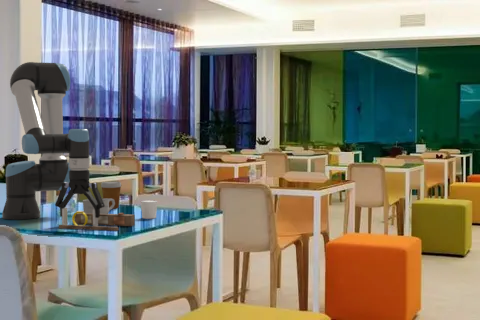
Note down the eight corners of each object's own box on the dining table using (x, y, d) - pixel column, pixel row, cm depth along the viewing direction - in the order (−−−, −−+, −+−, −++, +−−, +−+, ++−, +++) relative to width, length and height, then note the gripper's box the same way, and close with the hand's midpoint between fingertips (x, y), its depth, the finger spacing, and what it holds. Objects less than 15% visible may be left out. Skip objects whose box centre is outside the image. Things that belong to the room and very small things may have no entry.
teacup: (86, 220, 288) (86, 200, 287) (79, 217, 297) (79, 198, 297) (120, 218, 294) (119, 198, 294) (112, 215, 304) (111, 196, 303)
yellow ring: (88, 226, 272) (89, 211, 272) (84, 227, 269) (85, 212, 269) (74, 225, 274) (75, 209, 273) (70, 226, 271) (71, 210, 271)
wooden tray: (58, 228, 266) (58, 216, 266) (78, 222, 281) (78, 211, 280) (117, 230, 260) (117, 218, 259) (134, 225, 274) (134, 213, 274)
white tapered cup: (154, 219, 291) (154, 202, 291) (138, 218, 292) (138, 201, 292) (159, 216, 298) (159, 200, 297) (144, 216, 299) (143, 199, 299)
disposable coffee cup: (119, 209, 323) (119, 183, 323) (99, 209, 324) (98, 183, 323) (123, 207, 333) (123, 181, 332) (103, 207, 333) (103, 181, 332)
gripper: (45, 169, 270) (46, 225, 271) (103, 170, 263) (104, 228, 264) (55, 168, 277) (56, 223, 278) (112, 169, 271) (113, 225, 272)
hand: (80, 225), depth 271 cm, fingers open, 12 cm apart
